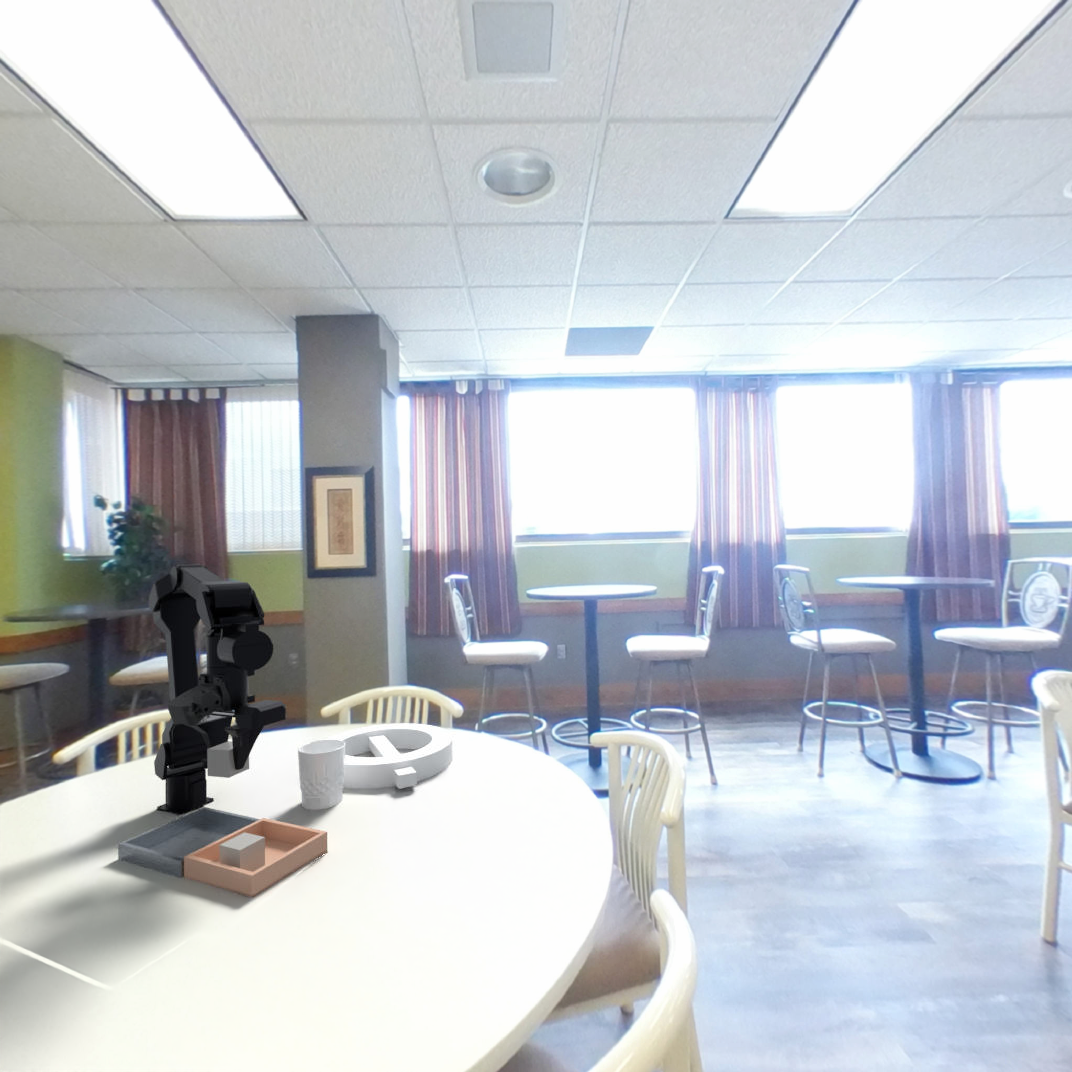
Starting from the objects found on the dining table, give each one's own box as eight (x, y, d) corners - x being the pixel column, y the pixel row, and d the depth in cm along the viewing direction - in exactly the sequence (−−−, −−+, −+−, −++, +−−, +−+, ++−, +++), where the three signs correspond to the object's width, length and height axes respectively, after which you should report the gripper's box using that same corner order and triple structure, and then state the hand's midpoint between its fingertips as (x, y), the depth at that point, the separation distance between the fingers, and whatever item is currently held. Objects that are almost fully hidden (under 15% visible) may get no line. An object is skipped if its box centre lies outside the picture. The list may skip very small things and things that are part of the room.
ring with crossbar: (366, 740, 144) (366, 720, 144) (473, 749, 135) (473, 727, 135) (284, 782, 117) (283, 758, 117) (410, 797, 108) (410, 770, 108)
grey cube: (207, 776, 90) (207, 748, 90) (228, 767, 94) (228, 741, 94) (229, 777, 89) (228, 750, 89) (249, 768, 93) (248, 742, 93)
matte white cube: (219, 875, 81) (219, 845, 81) (244, 861, 85) (244, 832, 85) (240, 881, 79) (240, 850, 79) (265, 866, 83) (264, 837, 83)
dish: (183, 879, 81) (183, 856, 81) (263, 837, 93) (263, 817, 93) (252, 899, 76) (252, 875, 76) (327, 852, 87) (327, 831, 88)
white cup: (330, 814, 101) (330, 754, 101) (289, 811, 102) (288, 752, 103) (354, 795, 109) (353, 740, 109) (314, 793, 110) (314, 738, 110)
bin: (118, 861, 86) (118, 843, 86) (204, 822, 99) (204, 806, 99) (180, 880, 81) (180, 861, 81) (264, 836, 93) (263, 820, 93)
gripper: (136, 671, 89) (136, 778, 88) (222, 676, 81) (223, 794, 80) (205, 659, 99) (206, 755, 98) (287, 663, 91) (289, 767, 90)
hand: (228, 767), depth 91 cm, fingers closed on grey cube, 4 cm apart
